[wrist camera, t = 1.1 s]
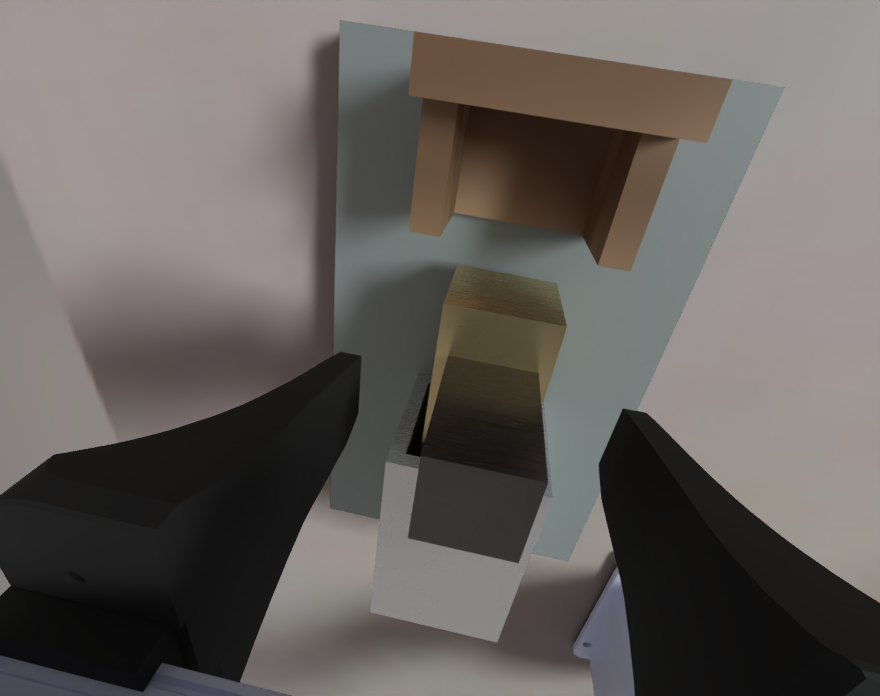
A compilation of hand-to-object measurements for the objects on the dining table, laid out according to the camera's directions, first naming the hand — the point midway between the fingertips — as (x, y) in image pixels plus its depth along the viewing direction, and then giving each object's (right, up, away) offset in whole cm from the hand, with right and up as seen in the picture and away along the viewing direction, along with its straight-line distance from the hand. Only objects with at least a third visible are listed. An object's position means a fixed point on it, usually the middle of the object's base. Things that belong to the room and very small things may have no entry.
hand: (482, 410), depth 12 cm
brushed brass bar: (0, -1, +6) cm, 6 cm away
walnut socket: (+2, +8, +1) cm, 8 cm away
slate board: (+1, +2, +6) cm, 6 cm away
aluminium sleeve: (0, -3, +7) cm, 8 cm away
